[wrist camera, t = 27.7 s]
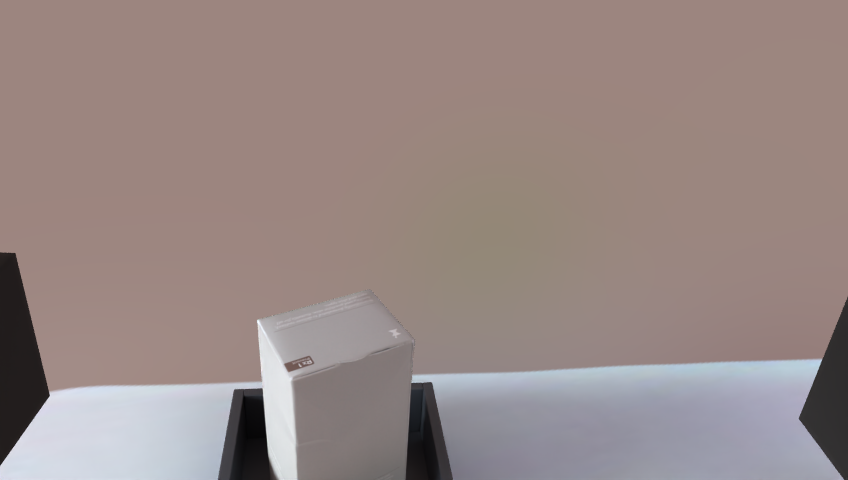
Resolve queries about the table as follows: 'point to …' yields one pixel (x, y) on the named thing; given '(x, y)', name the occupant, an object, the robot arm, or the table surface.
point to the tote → (248, 450)
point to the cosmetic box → (336, 390)
